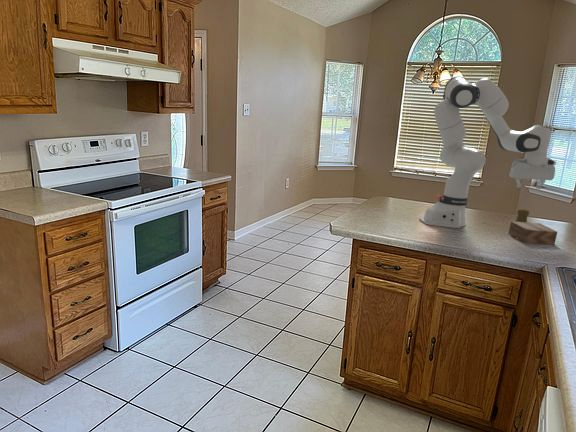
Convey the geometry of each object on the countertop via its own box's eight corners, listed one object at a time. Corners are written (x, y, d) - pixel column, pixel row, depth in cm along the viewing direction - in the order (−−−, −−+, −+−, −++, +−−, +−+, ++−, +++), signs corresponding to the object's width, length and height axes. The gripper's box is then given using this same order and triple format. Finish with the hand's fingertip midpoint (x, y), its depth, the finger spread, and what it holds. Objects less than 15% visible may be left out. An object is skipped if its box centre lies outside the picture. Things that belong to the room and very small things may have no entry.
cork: (527, 232, 208) (532, 211, 206) (514, 231, 209) (519, 209, 207) (523, 229, 214) (528, 208, 211) (511, 227, 215) (515, 206, 212)
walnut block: (523, 242, 191) (526, 229, 190) (508, 233, 205) (511, 221, 203) (554, 244, 192) (557, 231, 190) (537, 235, 205) (539, 223, 204)
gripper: (516, 159, 199) (510, 188, 203) (559, 162, 199) (553, 190, 203) (510, 157, 205) (504, 185, 209) (551, 160, 205) (545, 187, 209)
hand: (528, 188), depth 206 cm, fingers open, 8 cm apart
